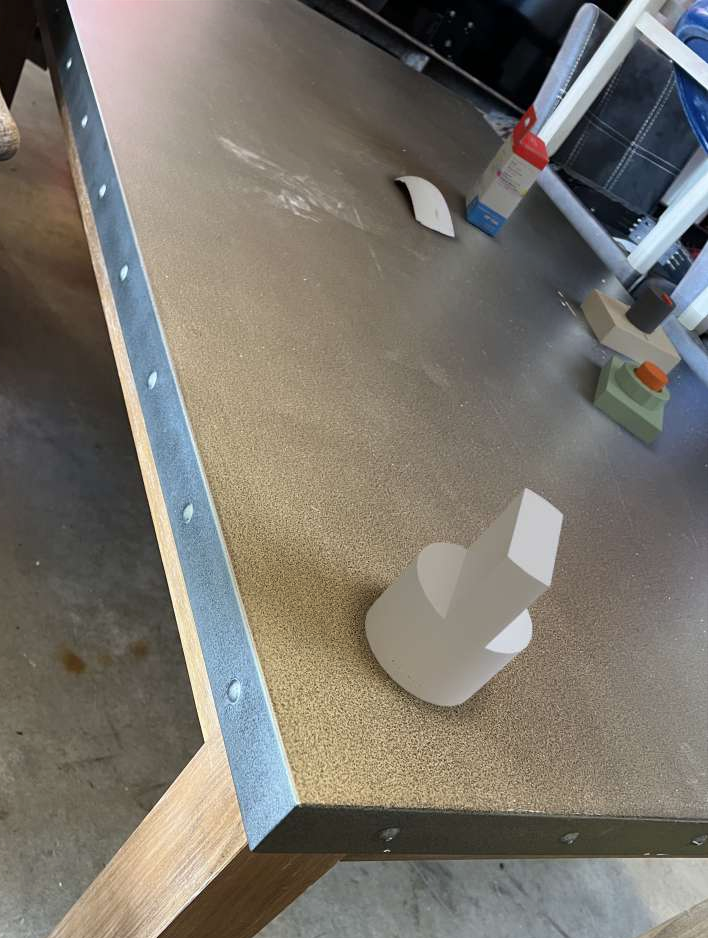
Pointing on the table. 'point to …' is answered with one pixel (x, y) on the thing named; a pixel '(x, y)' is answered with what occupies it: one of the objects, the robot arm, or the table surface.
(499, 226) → the ink box
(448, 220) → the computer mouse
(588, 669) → the table surface
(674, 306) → the program dial
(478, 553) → the cylinder with rectangular tab
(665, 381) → the button
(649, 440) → the block
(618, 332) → the dial panel
